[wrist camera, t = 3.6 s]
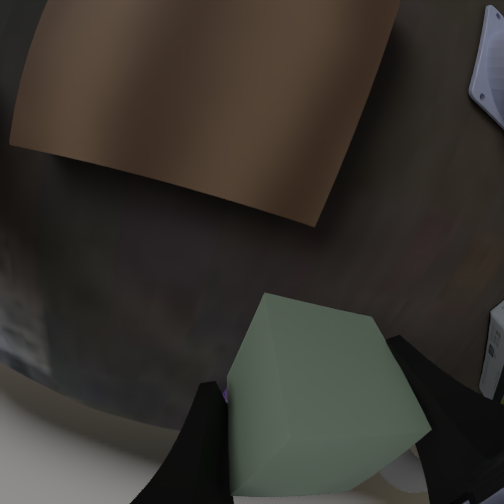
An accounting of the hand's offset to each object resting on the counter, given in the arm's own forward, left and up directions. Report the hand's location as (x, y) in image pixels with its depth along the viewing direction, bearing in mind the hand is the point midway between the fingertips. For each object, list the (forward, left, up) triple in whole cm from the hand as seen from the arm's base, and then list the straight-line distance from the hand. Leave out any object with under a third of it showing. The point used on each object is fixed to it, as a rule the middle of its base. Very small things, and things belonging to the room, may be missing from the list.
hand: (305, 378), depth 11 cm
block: (0, 0, -2) cm, 2 cm away
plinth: (+8, -11, -7) cm, 15 cm away
